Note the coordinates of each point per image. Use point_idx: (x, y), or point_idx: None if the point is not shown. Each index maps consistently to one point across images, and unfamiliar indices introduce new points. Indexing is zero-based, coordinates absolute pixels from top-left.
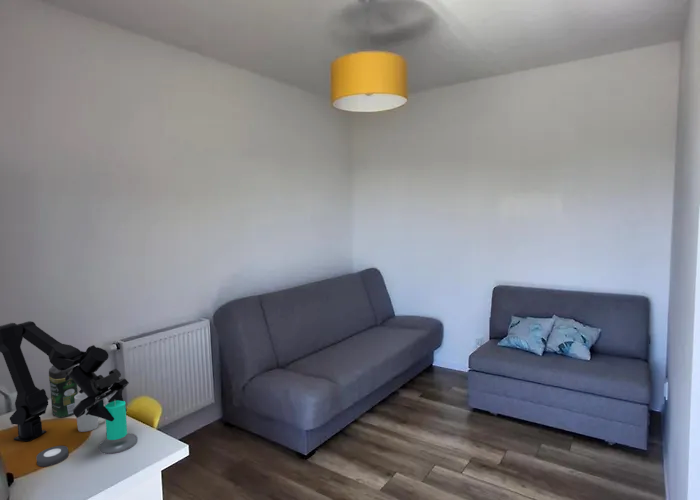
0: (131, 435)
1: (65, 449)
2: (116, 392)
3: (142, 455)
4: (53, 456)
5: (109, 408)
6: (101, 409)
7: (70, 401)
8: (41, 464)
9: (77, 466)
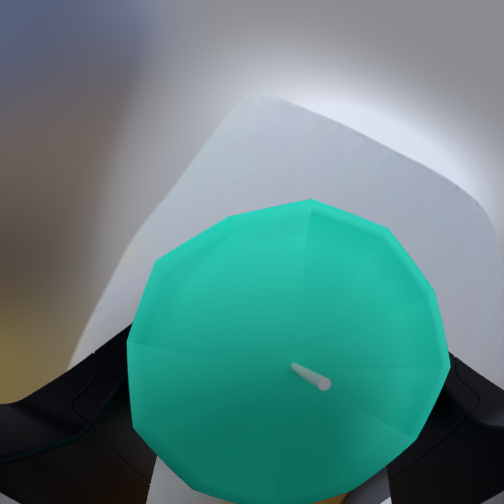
0: None
1: (375, 496)
2: (29, 501)
3: (324, 178)
4: None
5: (442, 337)
6: (494, 394)
7: None
8: None
9: None
